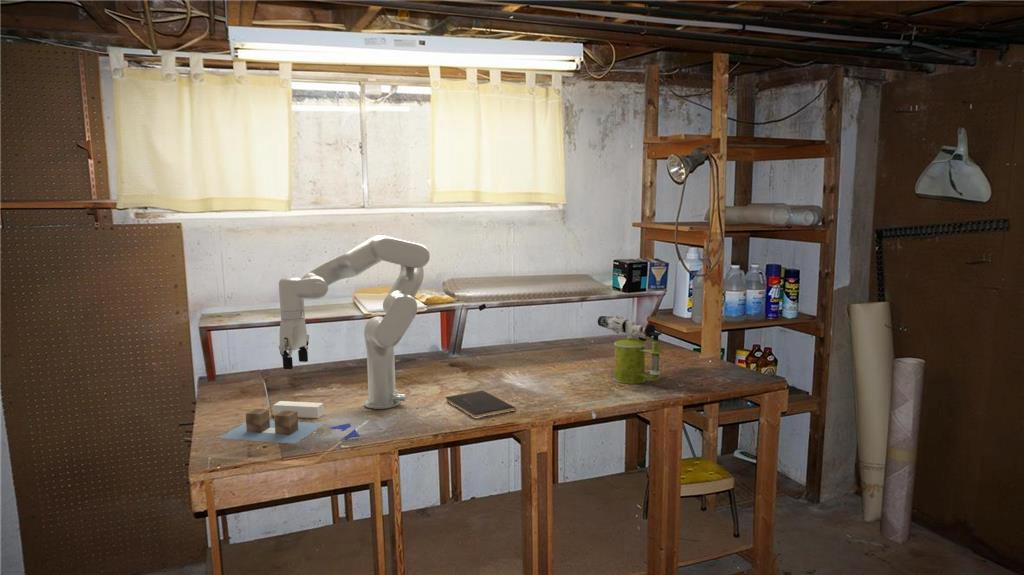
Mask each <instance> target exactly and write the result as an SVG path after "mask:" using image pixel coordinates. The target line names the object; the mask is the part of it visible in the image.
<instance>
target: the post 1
mask: <svg viewBox="0 0 1024 575" xmlns="http://www.w3.org/2000/svg"><path fill="white" fill-rule="evenodd" d="M270 420H271V419H270V409H267V408H253V409H252V410H249V411H248V412H246V413H245V423H246V427H247V432H255V433H262V432H263V431H265V430H267V429H268V428H270Z"/></svg>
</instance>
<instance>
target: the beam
mask: <svg viewBox="0 0 1024 575" xmlns="http://www.w3.org/2000/svg"><path fill="white" fill-rule="evenodd" d="M324 405H325V403H324V402H309V401H308V402H305V401H288V400H287V401H286V400H279V401H277V402H276V403H274V404H272V407H273V416H274V415H276V414H278V413H279V412H281V411H283V410H285V411H297V414H298V418H309V419H319V418H320V417H322V416H323V415H324V414H325V406H324Z"/></svg>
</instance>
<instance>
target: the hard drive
mask: <svg viewBox="0 0 1024 575" xmlns="http://www.w3.org/2000/svg"><path fill="white" fill-rule="evenodd" d="M351 427H352V425H351V423H345V424H339V425H333V426H328V429H330V430H340V431H341V432H344V431H347V430H348V429H349V428H351ZM358 438H359V439H361V435H360V434H359V433H358V431H357V429H356V428H354V429H353V430H352V431H351V432H350V433H348V434H346V435H345V436H344V437H342V438H341V439H340V440H339V441H338V443H339V442H340V441H341V442H346V440H347V441H352V439H353V440H357V439H358ZM341 442H340V443H341Z"/></svg>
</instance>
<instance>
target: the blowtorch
mask: <svg viewBox="0 0 1024 575" xmlns="http://www.w3.org/2000/svg"><path fill="white" fill-rule="evenodd" d="M597 324H598V326H599V327H602V328H604V329H608V330H610V331H613V332H614V333H616V334H620V333H624V334H625V333H626V334H627V337H626V338H625V339H620V340H617V341H614V344H613V345H614V376H613V378H612V379H613V381H614V380H615V381H614V382H616V381H618V382H617V383H619V382H621V383H620V384H624V383H629V385H637V384H638V385H639V384H644V383H645V382H646V379H650V380H651V381H654V382H656V381H658V380H660V378H661V371H660V354H664V350H660V349H659V348H660V343H661V341H659V336H661V335H662V334H663V333H662V332H658V331H656V327H655V325H654V324H651V323H650V324H647V325H646V327H645V326H644V325H642V324H638V325H637V324H636V322H635V321H632V320H630V319H627V318H625V317H623V316H621V315H616V316H606V315H600V316H598V318H597ZM635 332H637V333H639V334H640V335H641V337H640V336H639V337H638V339H636V338H635V339H634V336H633V334H635ZM646 337H648V338H652V339H653V340H652V341H651V344H652V349H646V345H647V344H646V341H647V339H646ZM646 352H647V353H649V354H651V370H649V373H647V372H646V370H645V368H646V367H645V366H646V365H645V364H646V362H645V361H646V360H645V359H646Z"/></svg>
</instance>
